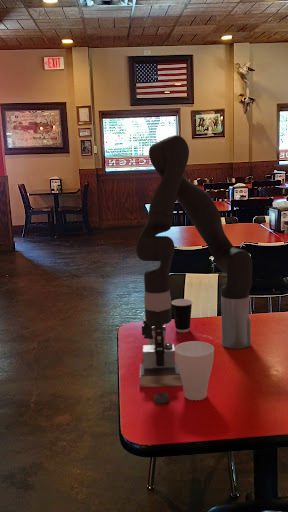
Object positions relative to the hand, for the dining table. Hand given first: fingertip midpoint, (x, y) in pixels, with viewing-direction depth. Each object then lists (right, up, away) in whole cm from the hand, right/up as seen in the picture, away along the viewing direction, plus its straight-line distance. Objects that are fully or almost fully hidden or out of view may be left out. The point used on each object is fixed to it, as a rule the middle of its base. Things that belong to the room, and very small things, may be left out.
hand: (160, 361), depth 141 cm
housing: (0, -1, 0) cm, 1 cm away
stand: (0, -5, +1) cm, 5 cm away
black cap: (0, -8, -12) cm, 14 cm away
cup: (+9, -7, -10) cm, 15 cm away
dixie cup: (+10, +3, +41) cm, 42 cm away
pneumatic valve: (-1, -1, +26) cm, 26 cm away
